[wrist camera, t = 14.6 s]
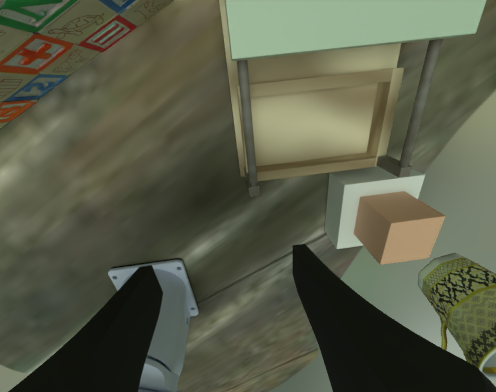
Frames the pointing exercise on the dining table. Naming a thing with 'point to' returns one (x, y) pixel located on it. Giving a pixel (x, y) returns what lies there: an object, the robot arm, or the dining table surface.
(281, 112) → the grey frame
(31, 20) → the stack of blocks
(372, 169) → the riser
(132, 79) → the dining table surface
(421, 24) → the lid
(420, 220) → the block
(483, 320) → the ceramic cup
